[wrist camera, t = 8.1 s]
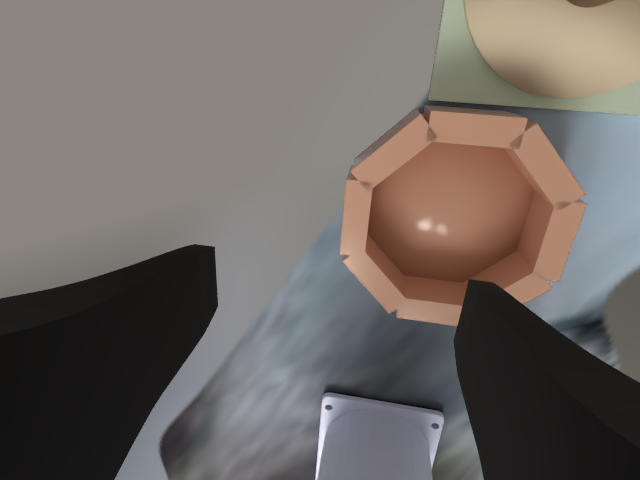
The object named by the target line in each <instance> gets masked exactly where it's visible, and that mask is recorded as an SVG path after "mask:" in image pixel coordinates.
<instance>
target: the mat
mask: <svg viewBox="0 0 640 480" xmlns="http://www.w3.org/2000/svg"><path fill="white" fill-rule="evenodd" d="M428 100H434V101H448V102H462V103H475V104H489V105H503V106H517V107H530V108H544V109H558V110H572V111H585V112H599V113H613V114H626V115H640V79H639V80H637V81H635V82H632V83H630V84H628V85H626V86H624V87H621V88H618V89H615V90H613V91H610V92H607V93H602V94H598V95H594V96H588V97H580V98H555V97H548V96H541V95H537V94H533V93H530V92H526V91H524V90H521V89H519V88H517V87H515V86H513V85H511V84H510V83H508V82H506V81H505V80H503V79H502V78H500V77H499V76H498V75H497V74H496V73H495V72H494V71H493V70H492V69H491V68H490V67H489V66H488V65H487V64H486V62H485V61H484V60H483V59H482V57H481V56H480V54H479V52H478V50H477V49H476V47H475V45H474V43H473V41H472V38H471V36H470V33H469V30H468V27H467V23H466V19H465V13H464V5H463V0H444V3H443V9H442V15H441V22H440V28H439V34H438V40H437V46H436V52H435V58H434V64H433V71H432V77H431V83H430V89H429V95H428Z"/></svg>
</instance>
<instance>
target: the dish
mask: <svg viewBox="0 0 640 480" xmlns="http://www.w3.org/2000/svg"><path fill="white" fill-rule="evenodd" d="M584 195H586V194H585V192H584V191H583V189H582V188H581V186H580V185H579V183H578V182H577V181H576V179H575V178H574V176H573V175H572V173H571V172H570V170H569V169H568V167H567V166H566V165H565V163H564V162H563V160H562V159H561V157H560V156H559V154H558V153H557V151H556V150H555V149H554V147H553V146H552V144H551V143H550V141H549V140H548V138H547V137H546V135H545V134H544V133H543V131H542V130H541V128H540V127H539V125H538V124H537V123H535V122H532V121H529V120H528V118H526V117H523V116H520V115H517V114H514V113H511V112H508V111H499V110H485V109H472V108H459V107H445V106H432V105H425V106H424V113H422V114H420V112H419V111H418V110H417V108H415V109H414V110H413V111H412V112H410V113H409V114H408V115H407V116H406V117H404V118H403V119H402V120H401V121H400V122H398V123H397V124H396V125H395V126H394V127H392V128H391V129H390V130H389V131H388V132H386V133H385V134H384V135H383V136H381V137H380V138H379V139H378V140H377V141H376V142H374V143H373V144H372V145H371V146H369V147H368V148H367V149H366V150H365V151H363V152H362V153H361V154H360V155H359V156H357V157H356V159H355V161H354V164H353V165H352V166H351V169H350V171H349V174H348V176H347V179H346V189H345V199H344V210H343V222H342V233H341V244H340V254H342V255H344V256H343V260H342V262H343V263H344V264H345V265H346V266H347V267H348V269H349V270H350V271H351V272H352V273H353V274H354V275H355V276H356V277H357V279H358V280H359V281H360V282H361V283H362V284H363V285H364V286H365V288H366V289H367V290H368V291H369V292H370V293H371V294H372V295H373V296H374V298H375V299H376V300H377V301H378V302H379V303H380V304H381V305H382V306H383V308H384V309H385V310H386V311H387V312H388V313H389V314H390V313H392V312H393V311H395V310H396V318H403V319H410V320H417V321H424V322H431V323H438V324H445V325H452V326H457V325H458V321H459V317H460V313H461V309H462V305H463V301H464V297H465V293H466V289H467V285H468V281H469V279H472V280H480V281H487V282H493V283H495V284H496V285H498V286H499V287H501V288H502V289H504V290H505V291H506V292H508V293H509V294H510V295H512V296H513V297H514V298H515V299H517V300H518V301H519V302H520V303H522V304H524V303H526V302H528V301H530V300H532V299H534V298H536V297H537V296H539V295H541V294H543V293H545V292H547V291H549V290H551V289H552V286H551V285H550V284H549V282H548V281H547V280H551V281H560V278H561V275H562V272H563V269H564V267H565V264H566V261H567V258H568V255H569V253H570V250H571V247H572V244H573V241H574V239H575V236H576V233H577V230H578V227H579V225H580V222H581V219H582V216H583V213H584V211H585V208H586V205H587V203H585V202H584V201H582V200H581V199H579V198H581V197H583V196H584Z"/></svg>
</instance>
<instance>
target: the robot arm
mask: <svg viewBox="0 0 640 480" xmlns="http://www.w3.org/2000/svg"><path fill="white" fill-rule="evenodd" d="M217 307H218V298H217V282H216V264H215V247H212V246H204V245H196V244H194V245H190V246H185V247H182V248H179V249H176V250H173V251H170V252H167V253H164V254H162V255H159V256H156V257H153V258H151V259H148V260H145V261H142V262H139V263H137V264H134V265H131V266H128V267H125V268H122V269H119V270H116V271H113V272H110V273H107V274H104V275H100V276H98V277H94V278H91V279H88V280H84V281H80V282H76V283H73V284H69V285H65V286H61V287H56V288H53V289H48V290H43V291H38V292H33V293H28V294H22V295H18V296H12V297H6V298H1V299H0V480H114V479H115V477H116V475H117V473H118V471H119V469H120V468H121V466H122V464H123V462H124V460H125V458H126V456H127V454H128V452H129V450H130V448H131V446H132V444H133V443H134V441H135V439H136V437H137V436H138V433H139V432H140V430H141V428H142V427H143V425H144V423H145V421H146V419H147V418H148V416H149V414H150V412H151V410H152V409H153V407H154V406H155V404H156V403H157V401H158V399H159V398H160V396H161V395H162V393H163V392H164V390H165V389H166V388H167V386H168V385H169V383H170V382H171V381H172V379H173V378H174V376H175V375H176V374H177V372H178V371H179V369H180V368H181V366H182V365H183V364H184V362H185V361H186V359H187V358H188V356H189V355H190V354H191V352H192V351H193V349H194V348H195V346H196V345H197V343H198V342H199V341H200V339H201V338H202V336H203V335H204V333H205V331H206V329H207V327H208V326H209V324H210V322H211V320H212V317H213V315H214V313H215V311H216V309H217ZM454 348H455V358H456V366H457V373H458V377H459V381H460V385H461V389H462V393H463V397H464V401H465V404H466V408H467V412H468V415H469V419H470V423H471V427H472V430H473V434H474V438H475V441H476V445H477V449H478V453H479V457H480V462H481V466H482V471H483V477H484V480H640V383H639V382H637V381H635V380H634V379H632V378H630V377H629V376H627V375H625V374H623V373H622V372H620V371H618V370H617V369H615V368H613V367H612V366H610V365H608V364H607V363H605V362H603V361H602V360H600V359H598V358H597V357H595V356H594V355H592V354H591V353H589V352H587V351H586V350H584V349H583V348H582V347H580V346H579V345H577V344H576V343H574V342H573V341H571V340H570V339H568V338H567V337H566V336H564V335H563V334H561V333H560V332H559V331H557V330H556V329H554V328H553V327H552V326H550V325H549V324H548V323H546V322H545V321H544V320H542V319H541V318H540V317H538V316H537V315H536V314H535V313H533V312H532V311H531V310H529V309H528V308H527V307H526V306H524V305H523V304H522V303H520V302H519V301H518V300H517V299H515V298H514V297H513V296H512V295H510V294H509V293H508V292H506V291H505V290H504V289H502V288H501V287H499V286H498V285H496V284H495V283H493V282H487V281H480V280H472V279H469V281H468V285H467V289H466V293H465V297H464V301H463V305H462V309H461V313H460V317H459V321H458V325H457V329H456V333H455V337H454ZM328 405H331V406H328ZM433 423H437V424H433ZM443 424H444V415H443V413H441V412H440V411H437V410H431V409H425V408H419V407H413V406H407V405H401V404H395V403H389V402H383V401H377V400H372V399H366V398H360V397H354V396H348V395H342V394H336V393H325V394H324V395H323V397H322V406H321V418H320V430H319V442H318V454H317V466H316V478H315V480H433V479H432V466H433V462H434V459H435V455H436V451H437V447H438V443H439V440H440V436H441V432H442V428H443Z"/></svg>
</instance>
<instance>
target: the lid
mask: <svg viewBox="0 0 640 480" xmlns="http://www.w3.org/2000/svg"><path fill="white" fill-rule="evenodd" d="M463 5H464V13H465V19H466V23H467V27H468V30H469V33H470V36H471V38H472V41H473V43H474V45H475V47H476V49H477V50H478V52H479V54H480V56H481V57H482V59H483V60H484V61H485V62H486V64H487V65H488V66H489V67H490V68H491V69H492V70H493V71H494V72H495V73H496V74H497V75H498V76H499V77H500V78H502V79H503V80H505V81H506V82H508V83H510V84H511V85H513V86H515V87H517V88H519V89H521V90H524V91H526V92H530V93H533V94H537V95H541V96H548V97H555V98H580V97H588V96H594V95H598V94H602V93H607V92H610V91H613V90H615V89H618V88H621V87H624V86H626V85H628V84H630V83H632V82H635V81H637V80H639V79H640V0H463Z"/></svg>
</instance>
